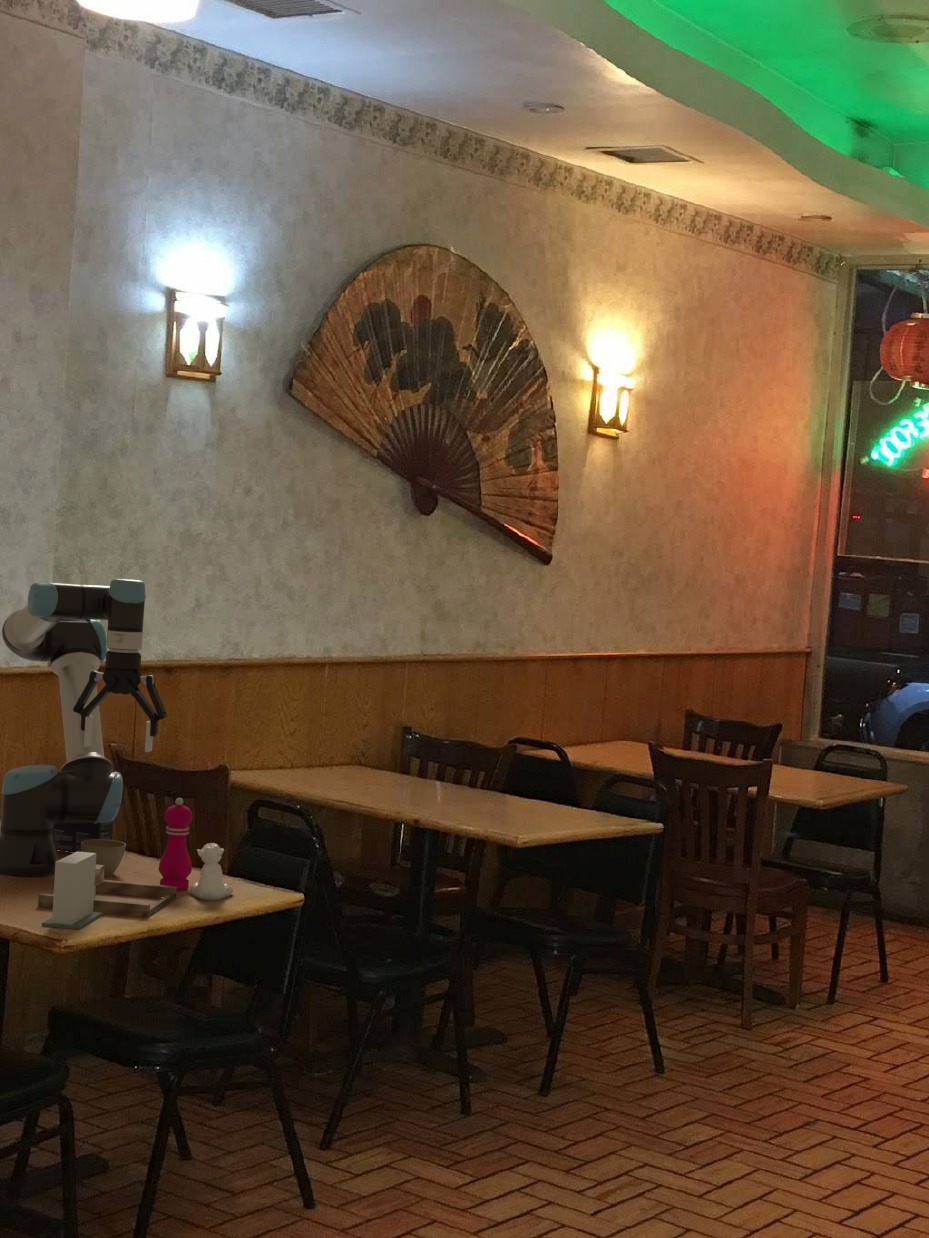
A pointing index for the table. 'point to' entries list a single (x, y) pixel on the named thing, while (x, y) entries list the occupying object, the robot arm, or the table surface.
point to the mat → (76, 925)
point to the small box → (79, 834)
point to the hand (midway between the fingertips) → (117, 748)
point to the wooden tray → (124, 906)
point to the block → (74, 887)
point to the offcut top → (99, 874)
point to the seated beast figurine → (211, 875)
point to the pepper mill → (176, 847)
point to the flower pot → (105, 853)
